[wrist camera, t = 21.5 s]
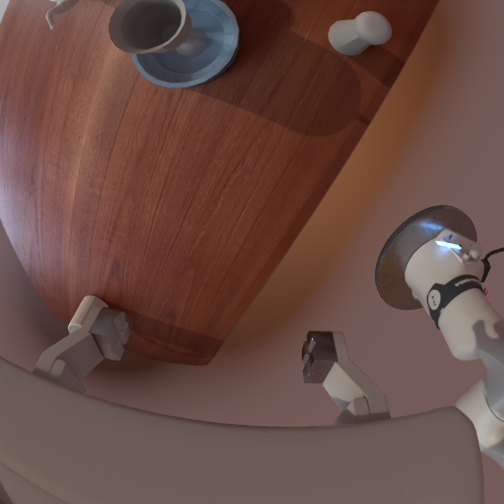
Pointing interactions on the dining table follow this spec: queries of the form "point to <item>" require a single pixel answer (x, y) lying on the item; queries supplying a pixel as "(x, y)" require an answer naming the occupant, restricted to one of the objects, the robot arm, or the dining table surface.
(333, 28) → the salt shaker
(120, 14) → the chalice
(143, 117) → the dining table surface
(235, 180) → the dining table surface
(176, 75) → the bowl
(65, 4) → the teapot
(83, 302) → the mug
